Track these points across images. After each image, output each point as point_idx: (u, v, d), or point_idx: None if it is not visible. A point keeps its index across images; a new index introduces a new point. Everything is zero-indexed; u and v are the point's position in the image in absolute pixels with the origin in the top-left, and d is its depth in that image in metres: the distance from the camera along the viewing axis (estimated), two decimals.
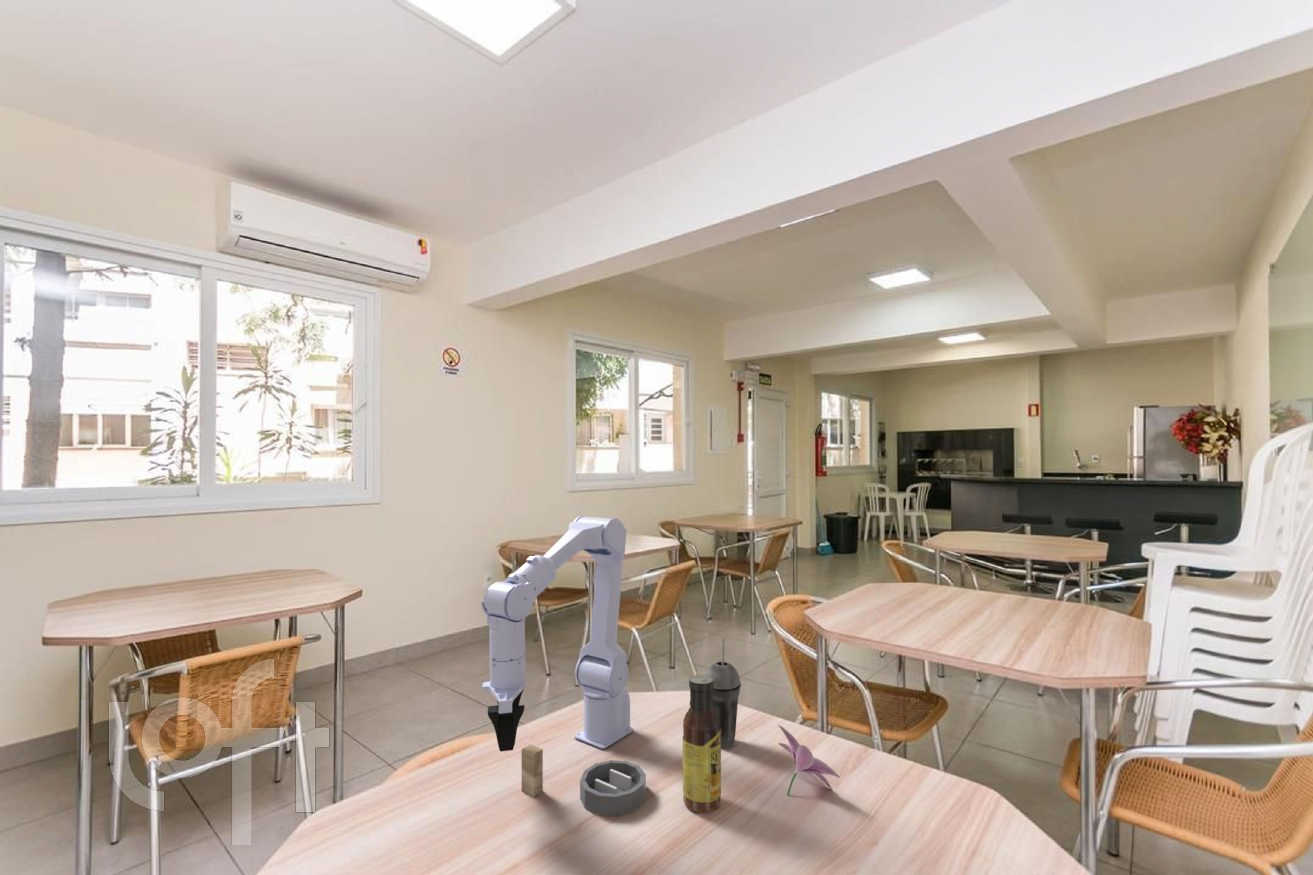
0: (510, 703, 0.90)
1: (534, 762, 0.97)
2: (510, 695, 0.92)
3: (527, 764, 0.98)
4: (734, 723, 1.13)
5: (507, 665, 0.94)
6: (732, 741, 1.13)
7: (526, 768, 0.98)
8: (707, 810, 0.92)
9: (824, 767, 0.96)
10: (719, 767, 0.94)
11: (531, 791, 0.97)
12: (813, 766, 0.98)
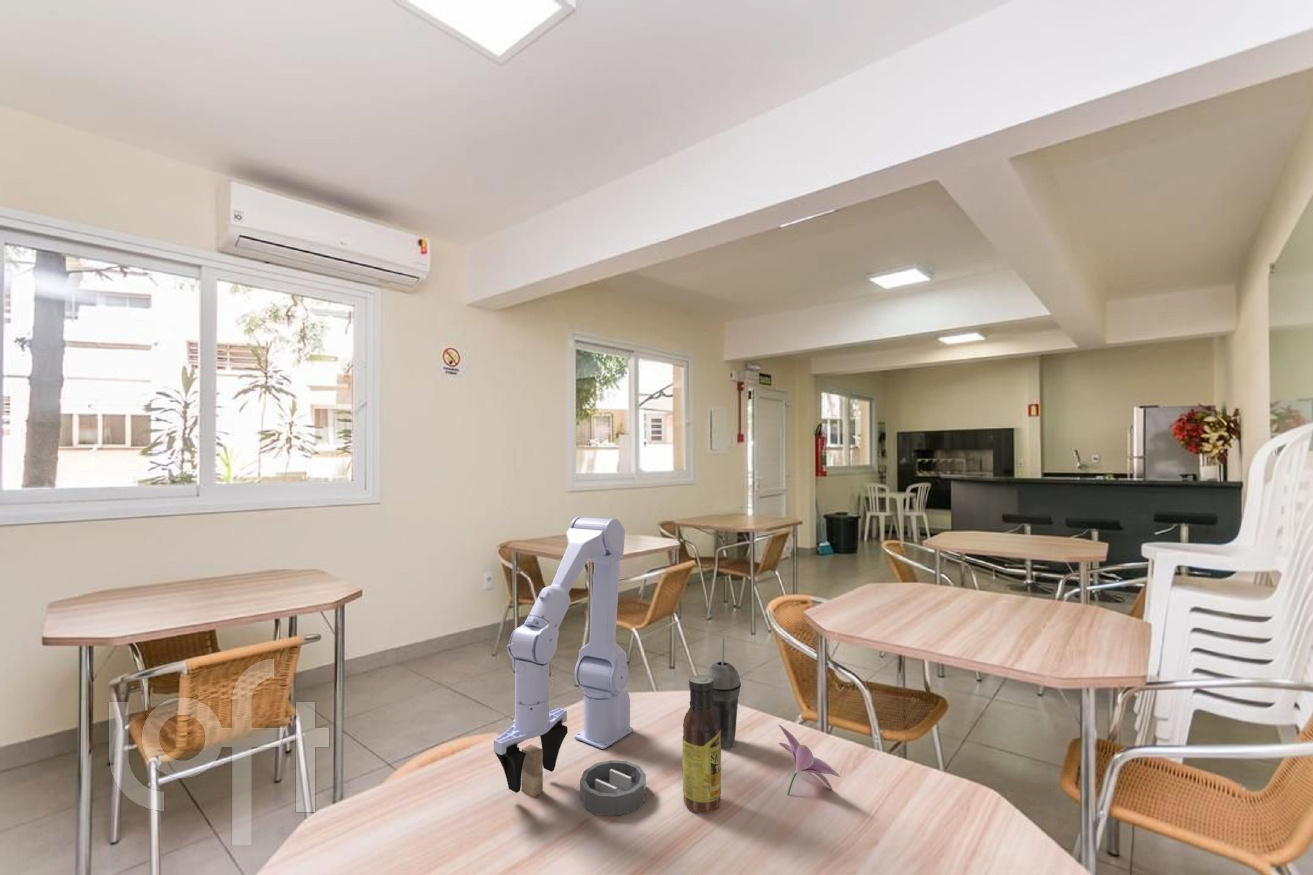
0: (500, 745, 0.92)
1: (534, 762, 0.97)
2: (512, 737, 0.94)
3: (527, 764, 0.98)
4: (734, 723, 1.13)
5: (519, 707, 0.96)
6: (732, 741, 1.13)
7: (526, 768, 0.98)
8: (707, 810, 0.92)
9: (824, 766, 0.96)
10: (719, 767, 0.94)
11: (531, 791, 0.97)
12: (814, 766, 0.98)
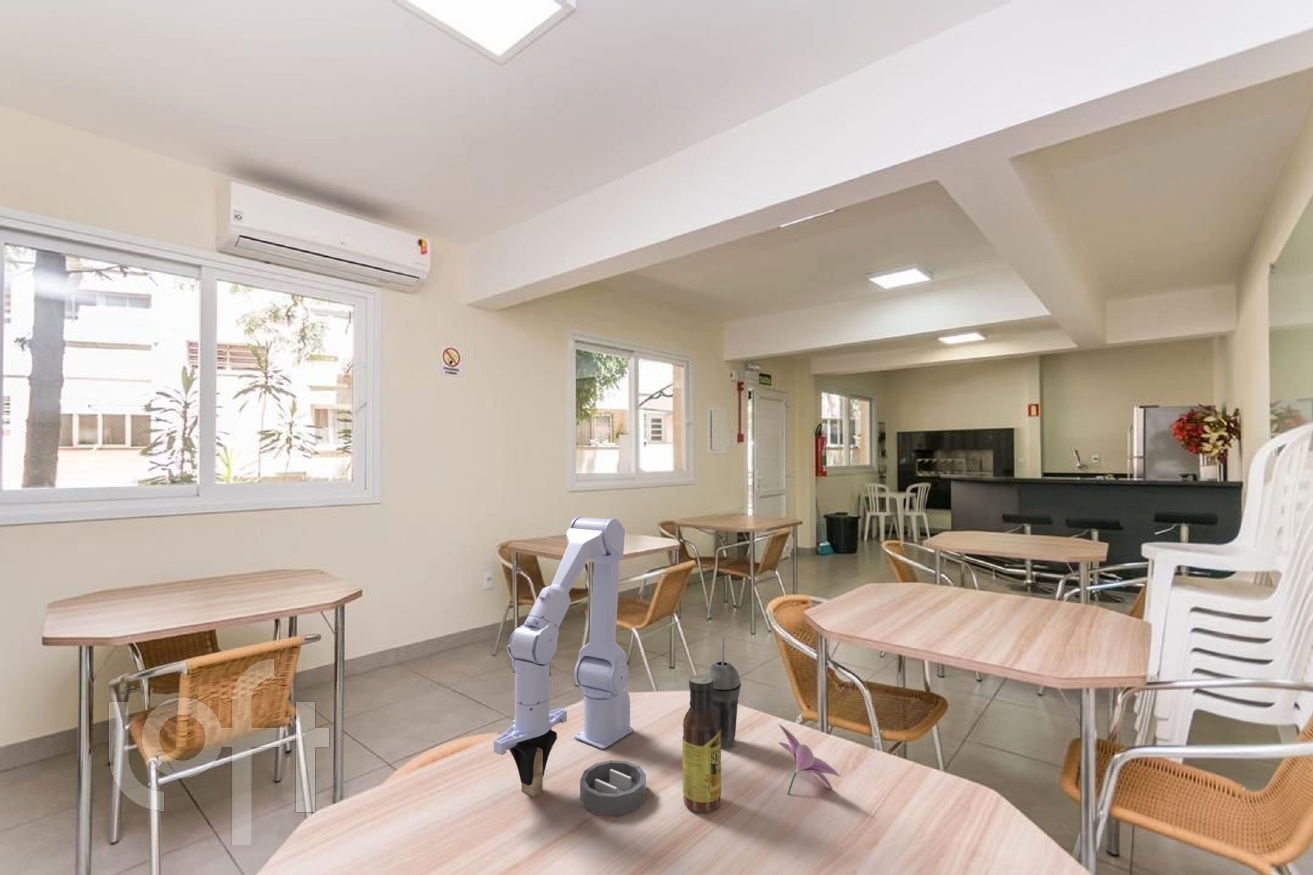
0: (500, 746, 0.92)
1: (534, 762, 0.97)
2: (512, 738, 0.94)
3: None
4: (734, 723, 1.13)
5: (519, 707, 0.96)
6: (732, 741, 1.13)
7: None
8: (707, 810, 0.92)
9: (824, 766, 0.96)
10: (719, 767, 0.94)
11: (531, 791, 0.97)
12: (814, 766, 0.98)
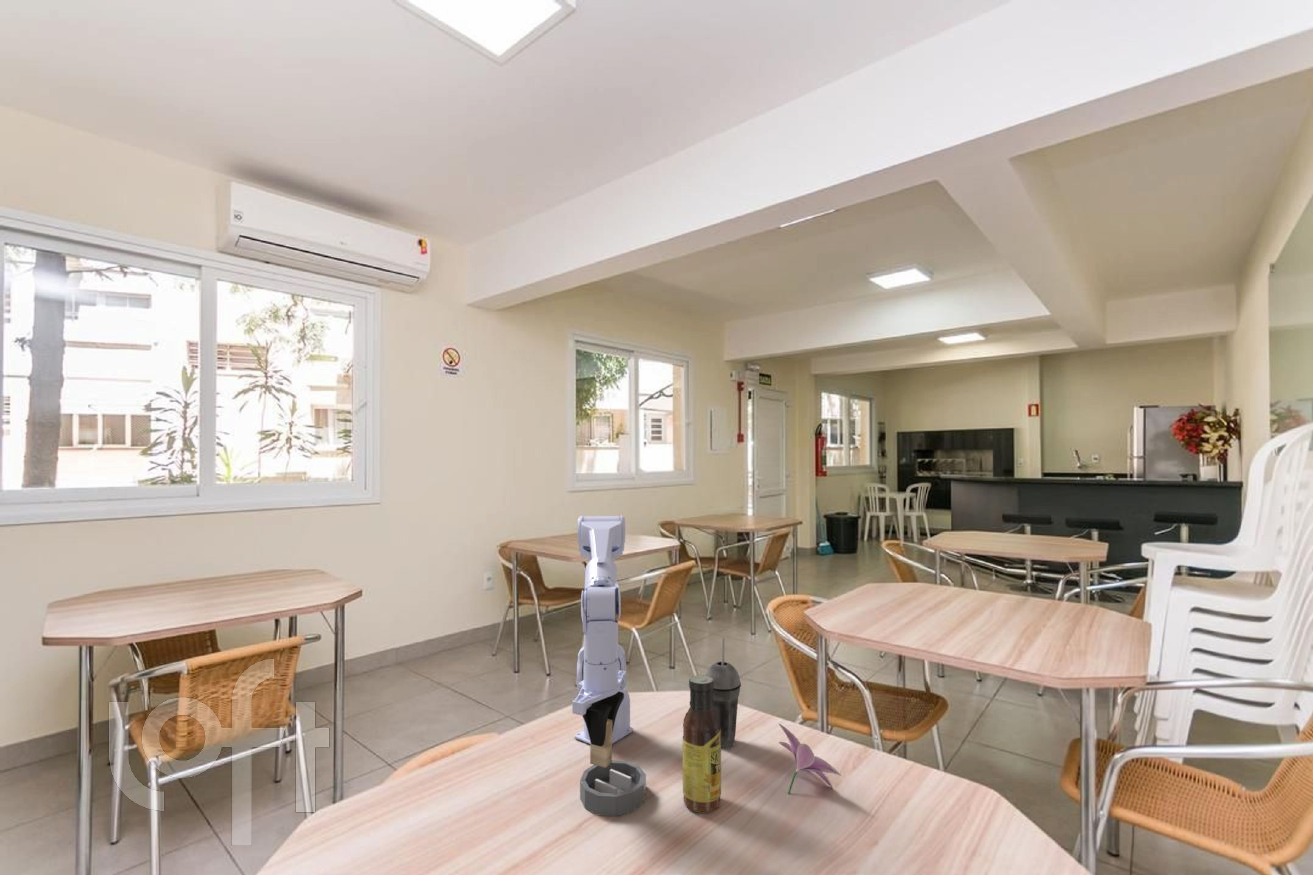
0: (581, 706, 0.91)
1: (607, 732, 0.96)
2: (589, 698, 0.93)
3: None
4: (734, 723, 1.13)
5: (592, 668, 0.95)
6: (732, 741, 1.13)
7: None
8: (707, 810, 0.92)
9: (825, 765, 0.97)
10: (719, 767, 0.94)
11: (603, 762, 0.96)
12: (814, 765, 0.98)
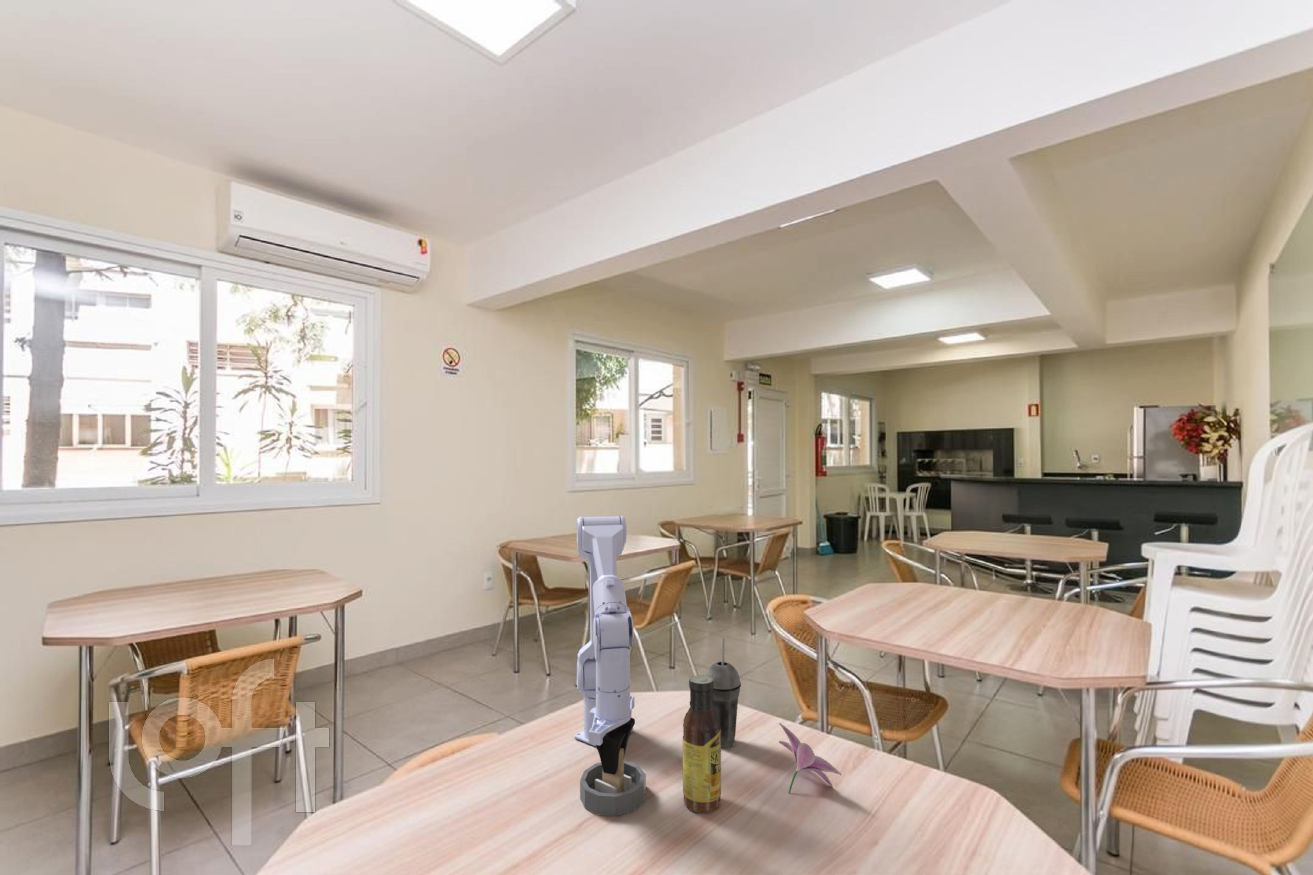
0: (598, 736, 0.90)
1: (619, 762, 0.96)
2: (605, 727, 0.92)
3: None
4: (734, 723, 1.13)
5: (606, 696, 0.95)
6: (732, 741, 1.13)
7: None
8: (707, 810, 0.92)
9: (825, 764, 0.97)
10: (719, 767, 0.94)
11: None
12: (814, 764, 0.98)
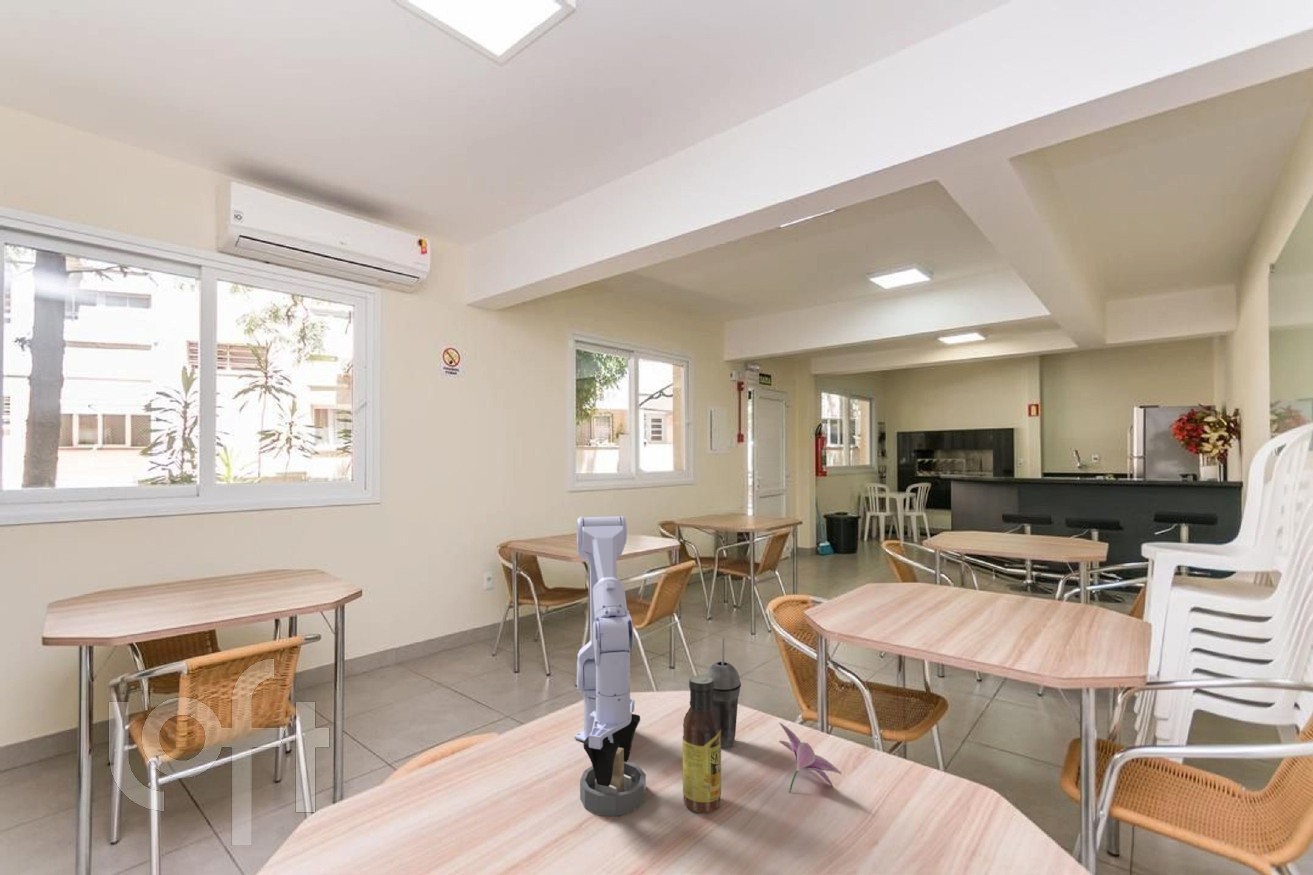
0: (598, 740, 0.90)
1: (619, 762, 0.96)
2: (605, 731, 0.92)
3: None
4: (734, 723, 1.13)
5: (606, 700, 0.95)
6: (732, 741, 1.13)
7: None
8: (707, 810, 0.92)
9: (825, 763, 0.97)
10: (719, 767, 0.94)
11: None
12: (815, 763, 0.98)
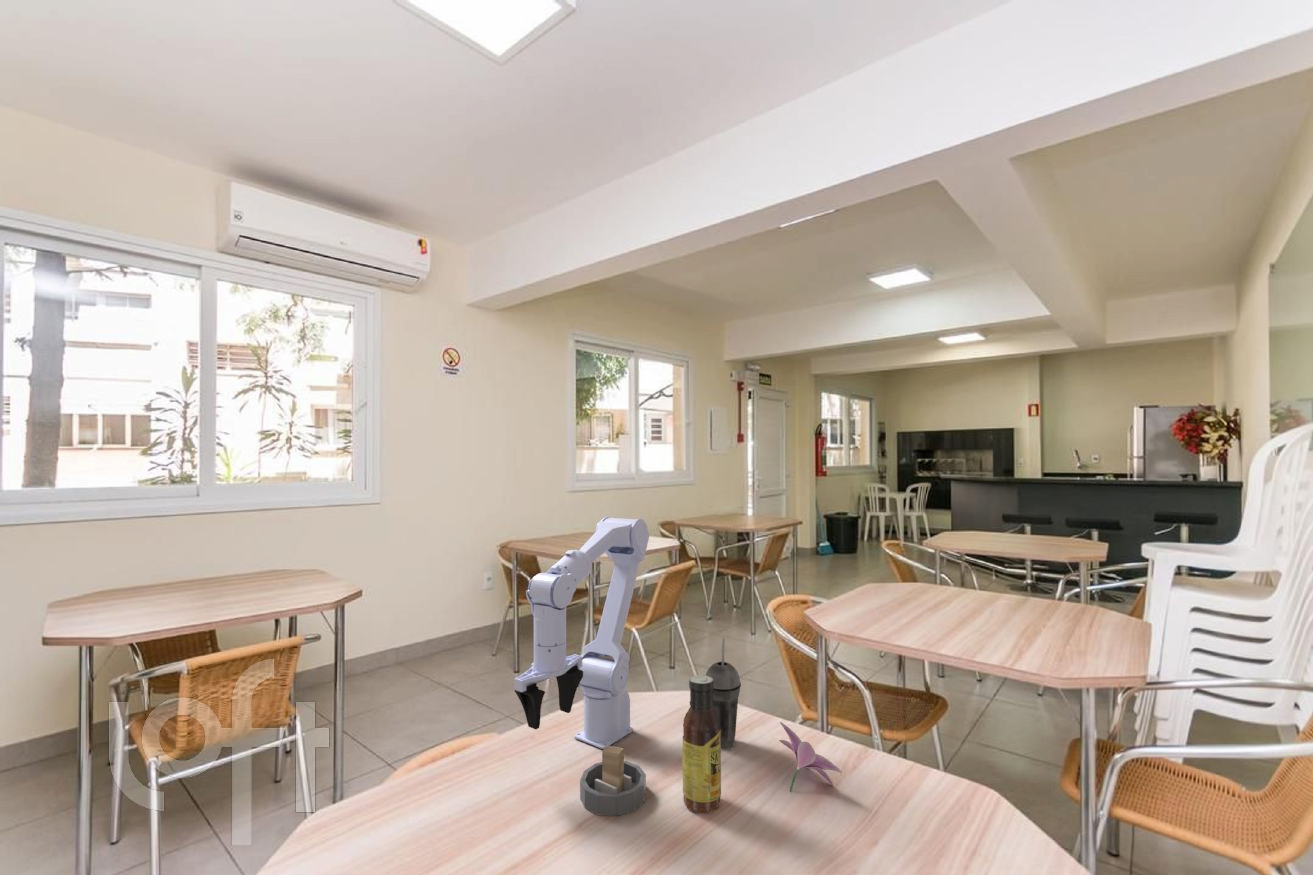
0: (521, 683, 0.97)
1: (619, 762, 0.96)
2: (532, 677, 0.99)
3: (610, 765, 0.96)
4: (734, 723, 1.13)
5: (538, 649, 1.01)
6: (732, 741, 1.13)
7: (608, 770, 0.96)
8: (707, 810, 0.92)
9: (825, 762, 0.98)
10: (719, 767, 0.94)
11: None
12: (815, 762, 0.99)
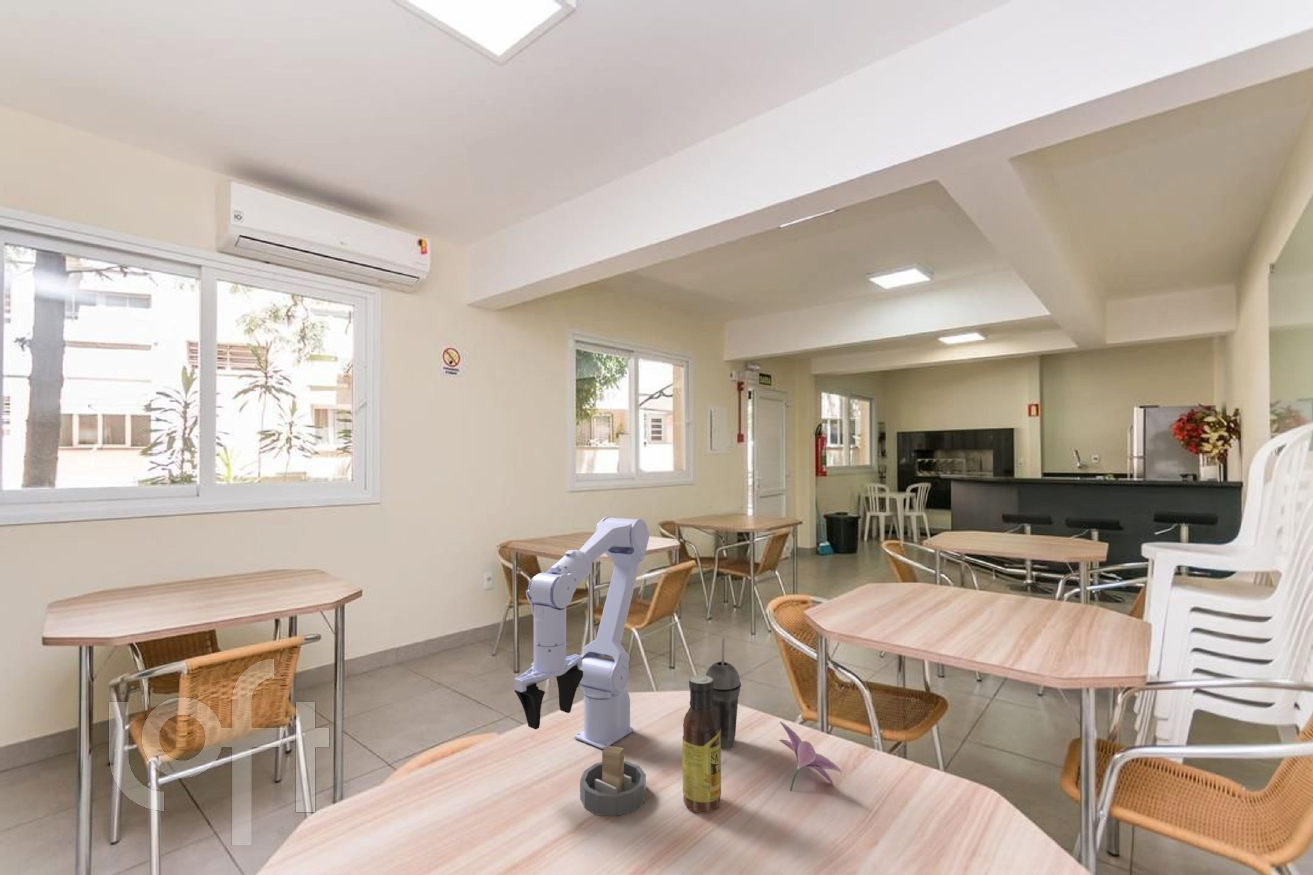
0: (521, 683, 0.97)
1: (619, 762, 0.96)
2: (532, 677, 0.99)
3: (610, 765, 0.96)
4: (734, 723, 1.13)
5: (538, 649, 1.01)
6: (732, 741, 1.13)
7: (608, 770, 0.96)
8: (707, 810, 0.92)
9: (826, 762, 0.98)
10: (719, 767, 0.94)
11: None
12: (815, 762, 0.99)
